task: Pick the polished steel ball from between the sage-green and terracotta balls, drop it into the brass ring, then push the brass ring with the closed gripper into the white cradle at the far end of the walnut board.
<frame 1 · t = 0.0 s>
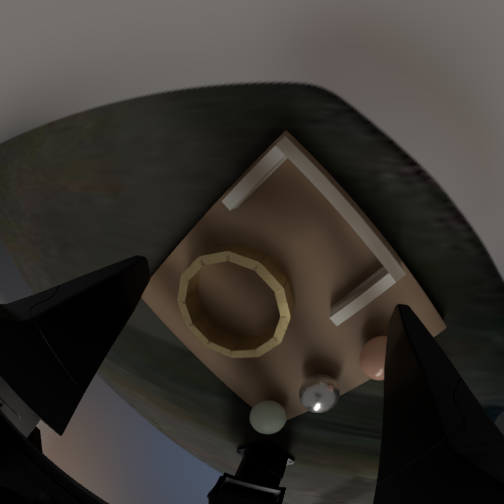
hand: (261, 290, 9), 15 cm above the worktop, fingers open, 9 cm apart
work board: (283, 310, 27), on the worktop
race ring: (239, 297, 26), point 1 cm above the worktop, touching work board
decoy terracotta: (381, 358, 22), point 3 cm above the worktop, touching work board
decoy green: (267, 417, 27), point 3 cm above the worktop, touching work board
steel ball: (319, 393, 24), point 3 cm above the worktop, touching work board
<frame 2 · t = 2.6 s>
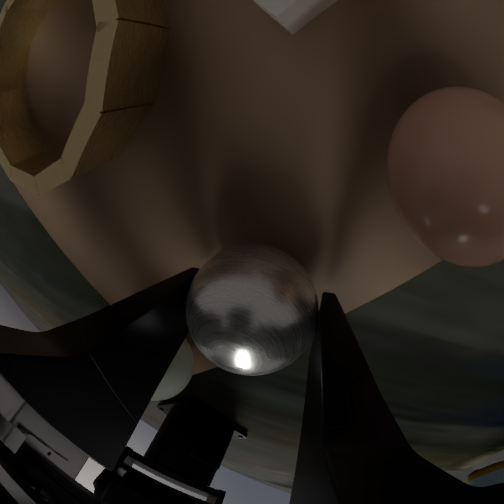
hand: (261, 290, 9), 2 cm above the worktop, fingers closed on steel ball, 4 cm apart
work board: (161, 71, 9), on the worktop
race ring: (70, 62, 8), point 1 cm above the worktop, touching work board
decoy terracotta: (467, 175, 5), point 3 cm above the worktop, touching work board
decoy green: (152, 360, 12), point 3 cm above the worktop, touching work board
steel ball: (252, 310, 9), point 3 cm above the worktop, touching gripper, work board
bottle: (488, 468, 18), on the worktop
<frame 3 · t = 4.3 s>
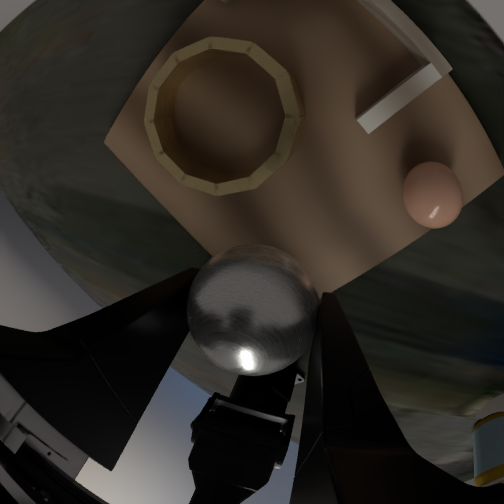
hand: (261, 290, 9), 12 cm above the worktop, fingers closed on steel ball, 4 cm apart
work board: (289, 131, 18), on the worktop
race ring: (228, 113, 18), point 1 cm above the worktop, touching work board
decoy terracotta: (433, 194, 14), point 3 cm above the worktop, touching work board
steel ball: (253, 310, 9), point 13 cm above the worktop, touching gripper
bottle: (489, 420, 27), on the worktop
when the fingers open (5 cm above the worktop, at t = 6.4 s): steel ball drops 2 cm, resting on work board.
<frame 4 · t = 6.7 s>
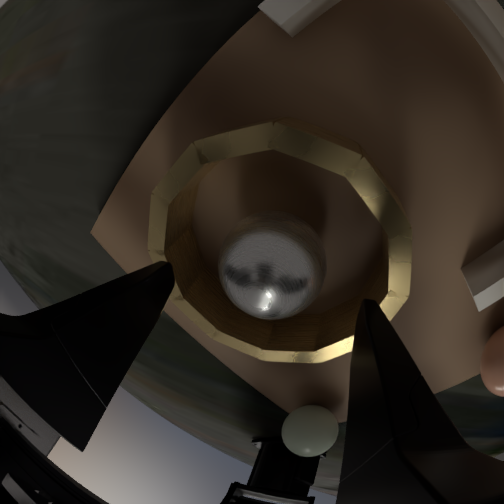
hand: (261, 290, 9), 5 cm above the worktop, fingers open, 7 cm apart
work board: (366, 265, 13), on the worktop
race ring: (283, 239, 12), point 1 cm above the worktop, touching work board
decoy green: (310, 430, 17), point 3 cm above the worktop, touching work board
steel ball: (272, 265, 11), point 3 cm above the worktop, touching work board
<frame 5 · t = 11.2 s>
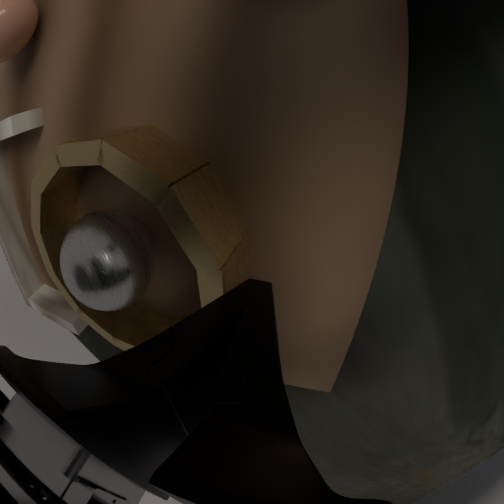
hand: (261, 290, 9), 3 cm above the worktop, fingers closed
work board: (114, 151, 11), on the worktop
race ring: (140, 241, 12), point 1 cm above the worktop, touching gripper
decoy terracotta: (3, 28, 6), point 3 cm above the worktop, touching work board
steel ball: (107, 260, 10), point 3 cm above the worktop, tilted 9°, touching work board
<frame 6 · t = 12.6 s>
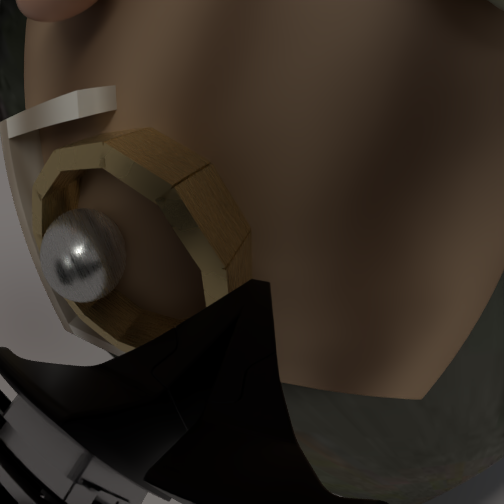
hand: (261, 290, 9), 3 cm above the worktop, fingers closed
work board: (227, 152, 10), on the worktop
race ring: (142, 244, 12), point 1 cm above the worktop, touching gripper, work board
steel ball: (82, 255, 11), point 3 cm above the worktop, tilted 148°, touching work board
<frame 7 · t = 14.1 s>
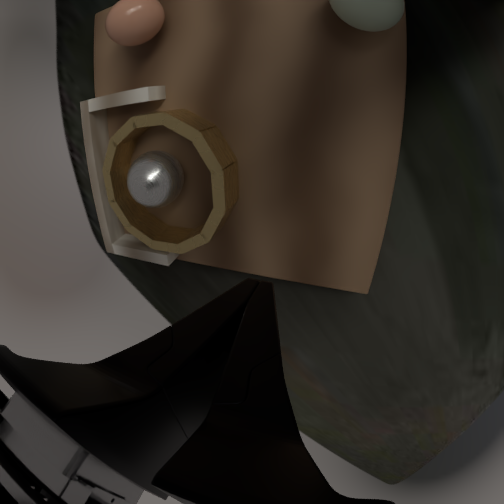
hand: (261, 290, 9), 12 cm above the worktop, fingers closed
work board: (226, 122, 18), on the worktop
race ring: (174, 176, 20), point 1 cm above the worktop, touching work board
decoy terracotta: (134, 19, 12), point 3 cm above the worktop, touching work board
steel ball: (155, 179, 18), point 3 cm above the worktop, tilted 168°, touching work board
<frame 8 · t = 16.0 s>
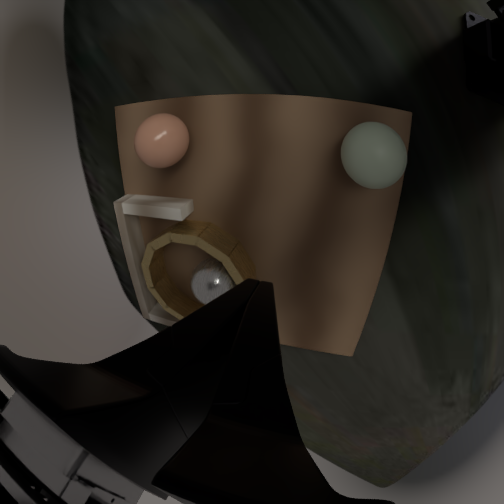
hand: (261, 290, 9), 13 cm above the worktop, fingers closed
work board: (246, 233, 24), on the worktop
race ring: (203, 270, 26), point 1 cm above the worktop, touching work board
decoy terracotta: (161, 140, 18), point 3 cm above the worktop, touching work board
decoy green: (374, 155, 15), point 3 cm above the worktop, touching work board
steel ball: (214, 282, 23), point 3 cm above the worktop, tilted 100°, touching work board
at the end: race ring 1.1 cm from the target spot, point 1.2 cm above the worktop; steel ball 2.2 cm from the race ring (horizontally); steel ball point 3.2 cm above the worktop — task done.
